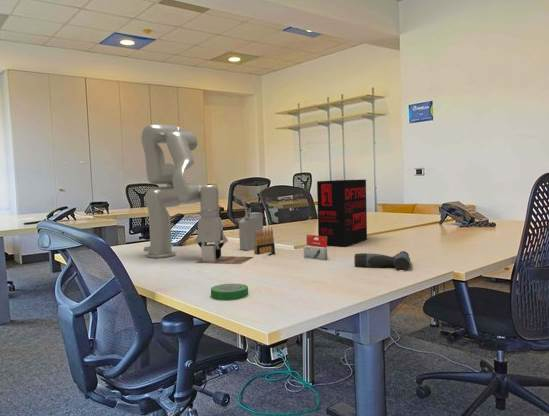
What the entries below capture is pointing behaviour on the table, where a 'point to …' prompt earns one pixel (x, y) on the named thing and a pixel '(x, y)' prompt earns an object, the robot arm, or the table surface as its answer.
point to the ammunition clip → (264, 242)
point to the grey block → (209, 252)
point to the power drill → (383, 260)
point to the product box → (342, 211)
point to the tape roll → (229, 291)
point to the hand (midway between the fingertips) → (211, 257)
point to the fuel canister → (249, 228)
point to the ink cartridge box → (316, 248)
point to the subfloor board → (228, 260)
